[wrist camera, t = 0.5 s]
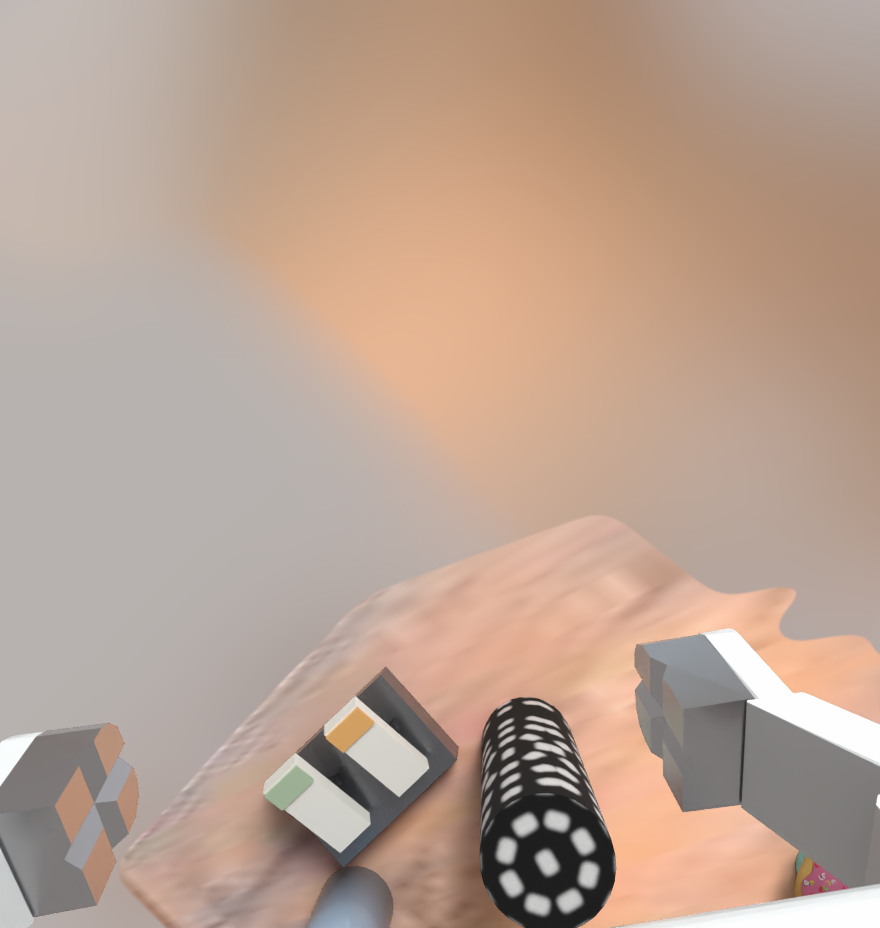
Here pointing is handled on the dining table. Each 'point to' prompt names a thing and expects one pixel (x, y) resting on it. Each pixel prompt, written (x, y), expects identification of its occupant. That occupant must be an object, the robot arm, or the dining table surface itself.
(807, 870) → the cupcake
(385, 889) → the blue cylinder
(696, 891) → the dining table surface
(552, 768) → the white-spotted black cylinder
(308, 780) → the paddle
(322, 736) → the panel
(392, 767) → the paddle
